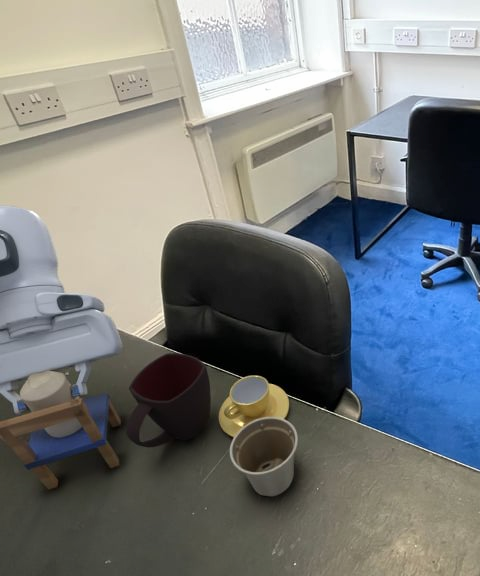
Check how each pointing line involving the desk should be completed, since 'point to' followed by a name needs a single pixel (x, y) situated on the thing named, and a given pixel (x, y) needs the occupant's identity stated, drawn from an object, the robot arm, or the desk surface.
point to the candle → (50, 398)
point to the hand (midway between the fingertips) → (52, 403)
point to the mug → (171, 398)
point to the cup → (252, 403)
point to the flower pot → (266, 454)
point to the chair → (49, 449)
